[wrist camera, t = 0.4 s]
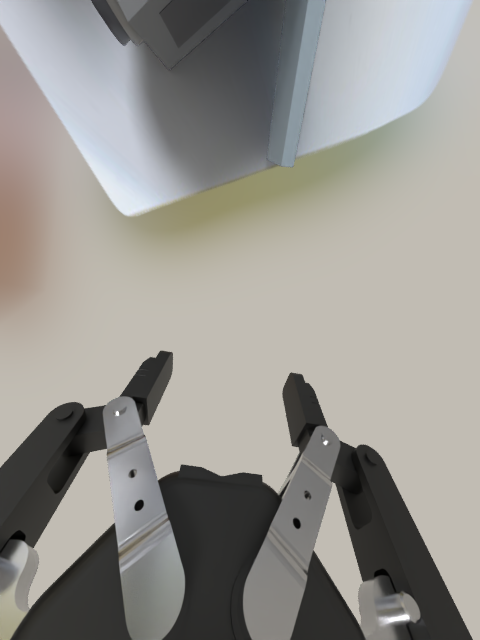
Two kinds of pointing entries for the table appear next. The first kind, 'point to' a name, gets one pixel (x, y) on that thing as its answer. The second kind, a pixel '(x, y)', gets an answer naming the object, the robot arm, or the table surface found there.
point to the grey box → (165, 23)
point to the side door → (293, 77)
